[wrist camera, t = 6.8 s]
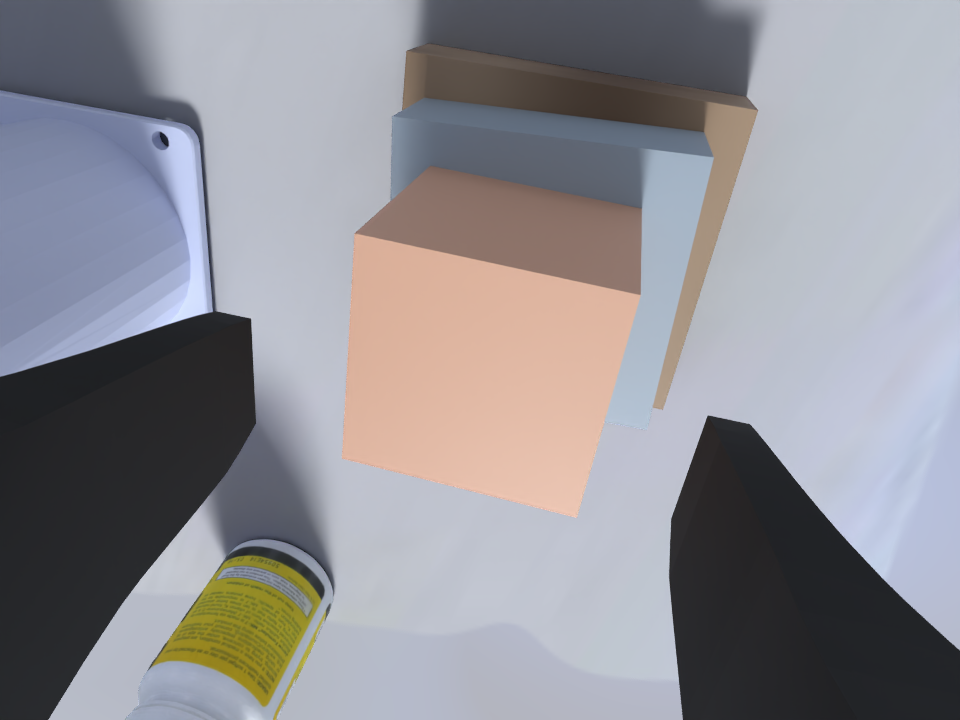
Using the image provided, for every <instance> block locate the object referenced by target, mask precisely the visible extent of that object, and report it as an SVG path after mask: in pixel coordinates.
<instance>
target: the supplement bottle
mask: <svg viewBox="0 0 960 720" xmlns="http://www.w3.org/2000/svg"><path fill="white" fill-rule="evenodd" d="M332 603H333V590H332V586H331V583H330V581H329V579H328V577H327V575H326V573H325V571H324V570H323V568H322V567H321V566H320V565H319V564H318V563H317V561H316V560H314V559H313V558H312V557H311V556H310V555H308V554H307V553H305V552H304V551H302V550H300V549H299V548H297V547H295V546H292V545H290V544H288V543H284V542H281V541H276V540H269V539H258V540H251V541H247V542H244V543H242V544H240V545H238V546H237V547H235V548H234V549H233V550H232V551H231V552H230V553H229V554H228V556H227V557H226V558H225V560H224V561H223V563H222V564H221V565H220V567H219V568H218V570H217V571H216V572H215V574H214V576H213V577H212V578H211V580H210V581H209V583H208V584H207V586H206V587H205V588H204V590H203V591H202V592H201V594H200V595H199V597H198V598H197V600H196V601H195V602H194V604H193V605H192V607H191V608H190V610H189V611H188V613H187V614H186V616H185V617H184V618H183V620H182V621H181V623H180V624H179V626H178V627H177V628H176V630H175V631H174V633H173V634H172V636H171V637H170V638H169V640H168V641H167V643H166V644H165V645H164V647H163V648H162V650H161V651H160V653H159V654H158V656H157V657H156V659H155V660H154V661H153V662H152V664H151V666H150V667H149V669H148V670H147V672H146V674H145V675H144V677H143V679H142V681H141V683H140V686H139V690H138V702H139V705H138V706H137V707H136V708H135V709H134V710H133V712H132V713H130V714H129V715H128V717H126V719H125V720H277V719H278V717H279V715H280V713H281V711H282V709H283V707H284V705H285V703H286V701H287V699H288V696H289V694H290V692H291V690H292V688H293V686H294V684H295V682H296V680H297V678H298V676H299V674H300V672H301V670H302V668H303V666H304V663H305V661H306V659H307V657H308V655H309V653H310V651H311V649H312V647H313V645H314V643H315V641H316V639H317V637H318V635H319V632H320V630H321V628H322V626H323V624H324V622H325V620H326V617H327V615H328V614H329V611H330V609H331V606H332Z"/></svg>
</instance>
